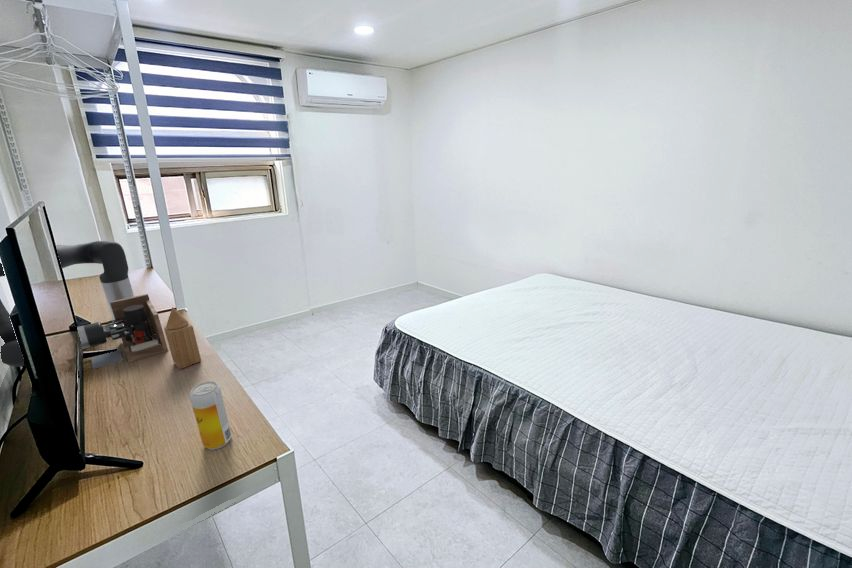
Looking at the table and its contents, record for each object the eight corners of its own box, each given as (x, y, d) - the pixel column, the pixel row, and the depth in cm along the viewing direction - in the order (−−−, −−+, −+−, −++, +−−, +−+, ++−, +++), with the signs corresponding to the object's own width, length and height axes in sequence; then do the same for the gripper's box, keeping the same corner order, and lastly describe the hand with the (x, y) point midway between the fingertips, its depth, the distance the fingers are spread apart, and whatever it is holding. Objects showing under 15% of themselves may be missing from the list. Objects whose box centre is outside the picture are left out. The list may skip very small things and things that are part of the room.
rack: (122, 341, 145) (109, 301, 140) (158, 332, 152) (147, 293, 147) (128, 362, 131) (114, 318, 125) (168, 350, 138) (156, 308, 132)
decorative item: (173, 363, 129) (157, 307, 123) (195, 355, 134) (181, 300, 127) (179, 370, 125) (164, 312, 118) (202, 361, 129) (188, 305, 123)
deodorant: (158, 342, 144) (147, 304, 139) (146, 350, 138) (134, 311, 133) (143, 342, 144) (132, 304, 140) (130, 350, 139) (118, 311, 134)
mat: (91, 359, 134) (91, 357, 133) (120, 351, 139) (119, 349, 138) (92, 369, 127) (92, 367, 127) (123, 360, 132) (122, 358, 132)
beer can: (210, 434, 96) (196, 381, 91) (236, 432, 96) (223, 379, 91) (198, 452, 90) (183, 397, 85) (226, 450, 90) (212, 394, 85)
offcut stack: (132, 354, 136) (130, 346, 135) (159, 346, 141) (157, 338, 140) (133, 358, 133) (131, 350, 132) (161, 350, 138) (159, 342, 137)
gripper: (82, 333, 123) (146, 317, 134) (81, 319, 134) (140, 306, 144) (90, 354, 126) (152, 337, 136) (88, 339, 136) (146, 324, 146)
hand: (146, 321), depth 140 cm, fingers closed on deodorant, 6 cm apart
